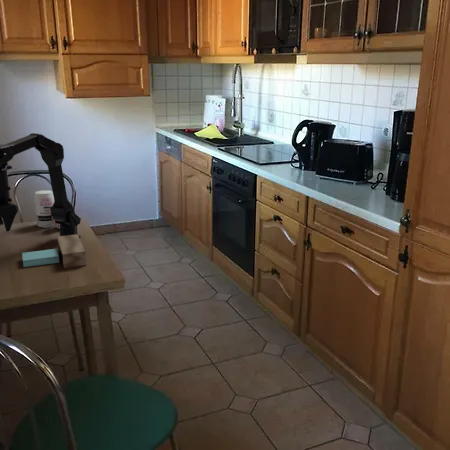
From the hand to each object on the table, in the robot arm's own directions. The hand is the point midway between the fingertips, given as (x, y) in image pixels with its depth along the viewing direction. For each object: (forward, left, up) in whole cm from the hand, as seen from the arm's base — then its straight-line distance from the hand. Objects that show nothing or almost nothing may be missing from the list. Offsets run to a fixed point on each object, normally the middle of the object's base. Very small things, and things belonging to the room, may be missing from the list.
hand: (4, 227), depth 179 cm
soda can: (-40, -13, -14) cm, 44 cm away
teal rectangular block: (-7, +8, -13) cm, 17 cm away
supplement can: (-39, -22, -14) cm, 47 cm away
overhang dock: (-16, +15, -13) cm, 25 cm away
